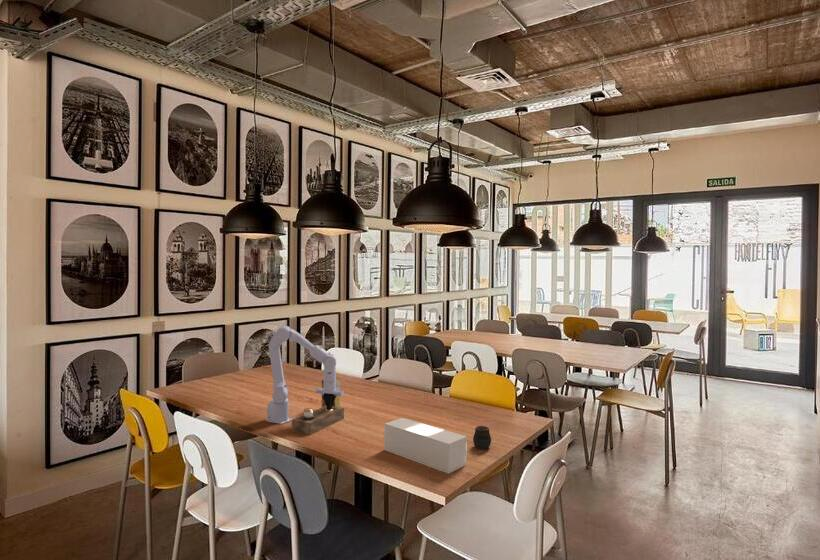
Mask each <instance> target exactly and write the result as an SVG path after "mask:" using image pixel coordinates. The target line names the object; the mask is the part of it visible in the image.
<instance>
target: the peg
mask: <svg viewBox="0 0 820 560" xmlns="http://www.w3.org/2000/svg"><path fill="white" fill-rule="evenodd" d="M313 411H314V408H313V407H307V408H304V409H303V415H304V420H308V421H310V420H312V419H313Z"/></svg>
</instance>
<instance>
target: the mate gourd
mask: <svg viewBox="0 0 820 560" xmlns="http://www.w3.org/2000/svg"><path fill="white" fill-rule="evenodd" d="M472 441H473V445H474V447H476V448H477V449H478V450H487V449H489V448H490V446H491V444H492V437H491V433H490V428H489V427H488V426H487V425H477V426H475V430H474V434H473V439H472Z"/></svg>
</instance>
